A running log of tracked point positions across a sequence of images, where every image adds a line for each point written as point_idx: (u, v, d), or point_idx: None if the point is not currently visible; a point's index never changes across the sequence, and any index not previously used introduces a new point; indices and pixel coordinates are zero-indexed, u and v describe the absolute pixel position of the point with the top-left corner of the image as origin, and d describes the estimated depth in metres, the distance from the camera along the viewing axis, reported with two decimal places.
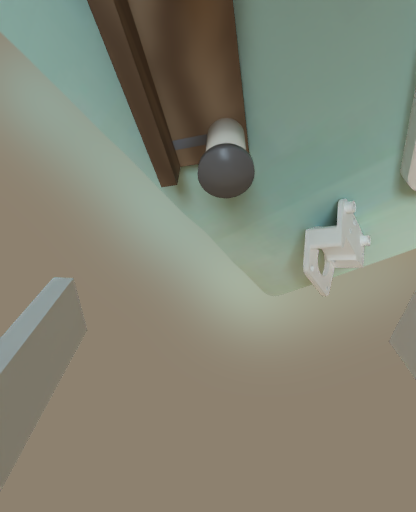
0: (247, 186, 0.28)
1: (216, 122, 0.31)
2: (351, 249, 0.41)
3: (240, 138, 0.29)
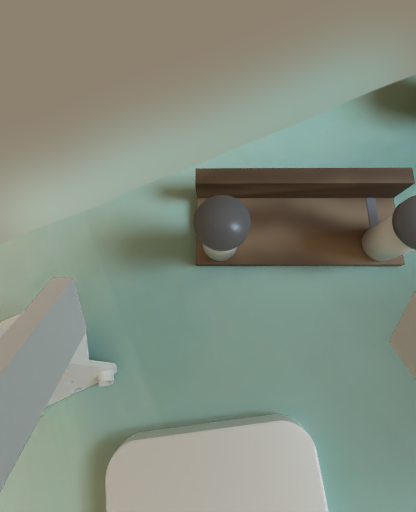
0: (204, 240, 0.27)
1: None
2: None
3: (232, 250, 0.31)
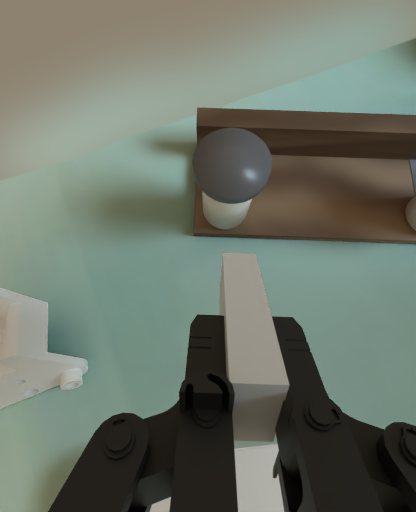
0: (207, 185, 0.19)
1: None
2: None
3: (242, 210, 0.23)
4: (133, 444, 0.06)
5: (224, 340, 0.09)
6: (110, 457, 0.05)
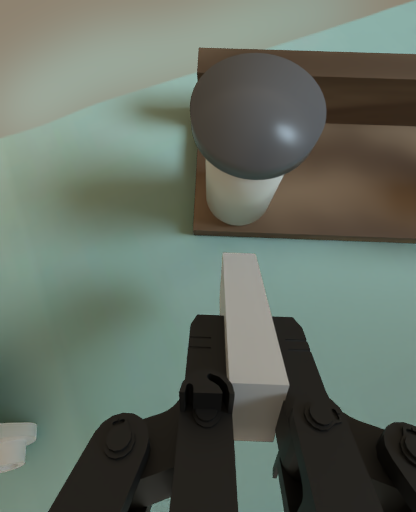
0: (215, 146, 0.11)
1: None
2: None
3: (268, 195, 0.15)
4: (133, 444, 0.06)
5: (224, 340, 0.09)
6: (110, 457, 0.05)
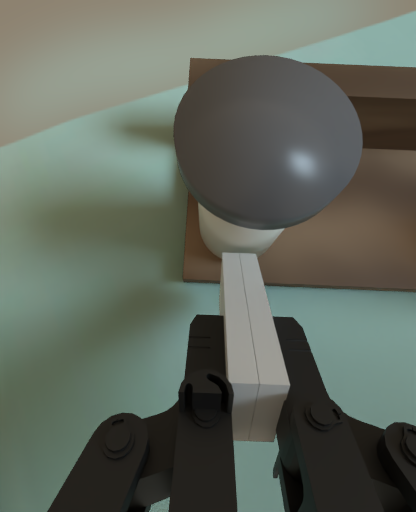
0: (208, 186, 0.08)
1: None
2: None
3: (276, 235, 0.12)
4: (132, 444, 0.06)
5: (223, 340, 0.09)
6: (109, 457, 0.05)
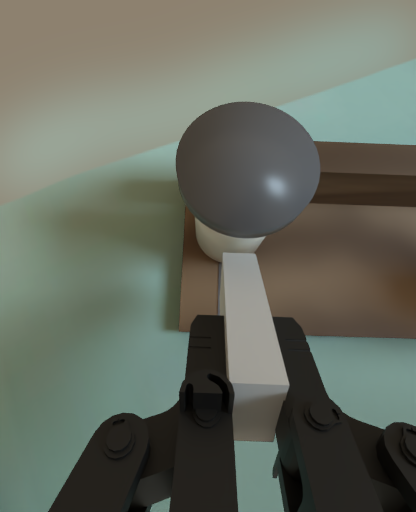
0: (202, 206, 0.10)
1: None
2: None
3: (259, 240, 0.14)
4: (133, 444, 0.06)
5: (224, 340, 0.09)
6: (110, 457, 0.05)
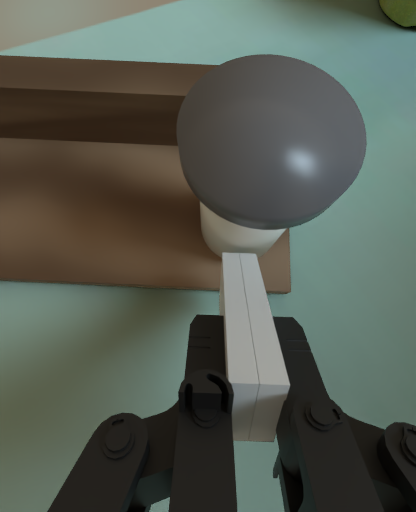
0: None
1: None
2: None
3: None
4: (132, 444, 0.06)
5: (223, 340, 0.09)
6: (109, 457, 0.05)
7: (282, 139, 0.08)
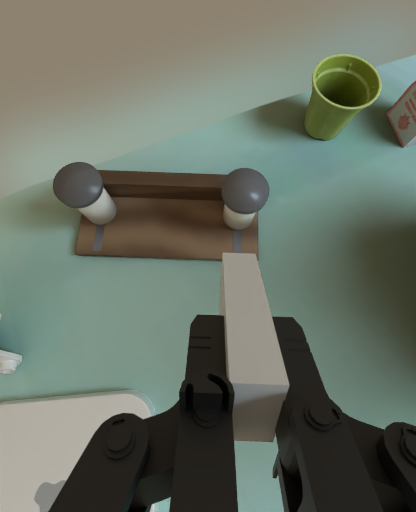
0: (59, 197, 0.32)
1: (115, 205, 0.40)
2: None
3: (99, 212, 0.36)
4: (133, 444, 0.06)
5: (224, 340, 0.09)
6: (110, 457, 0.05)
7: (248, 191, 0.33)
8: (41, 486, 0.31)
